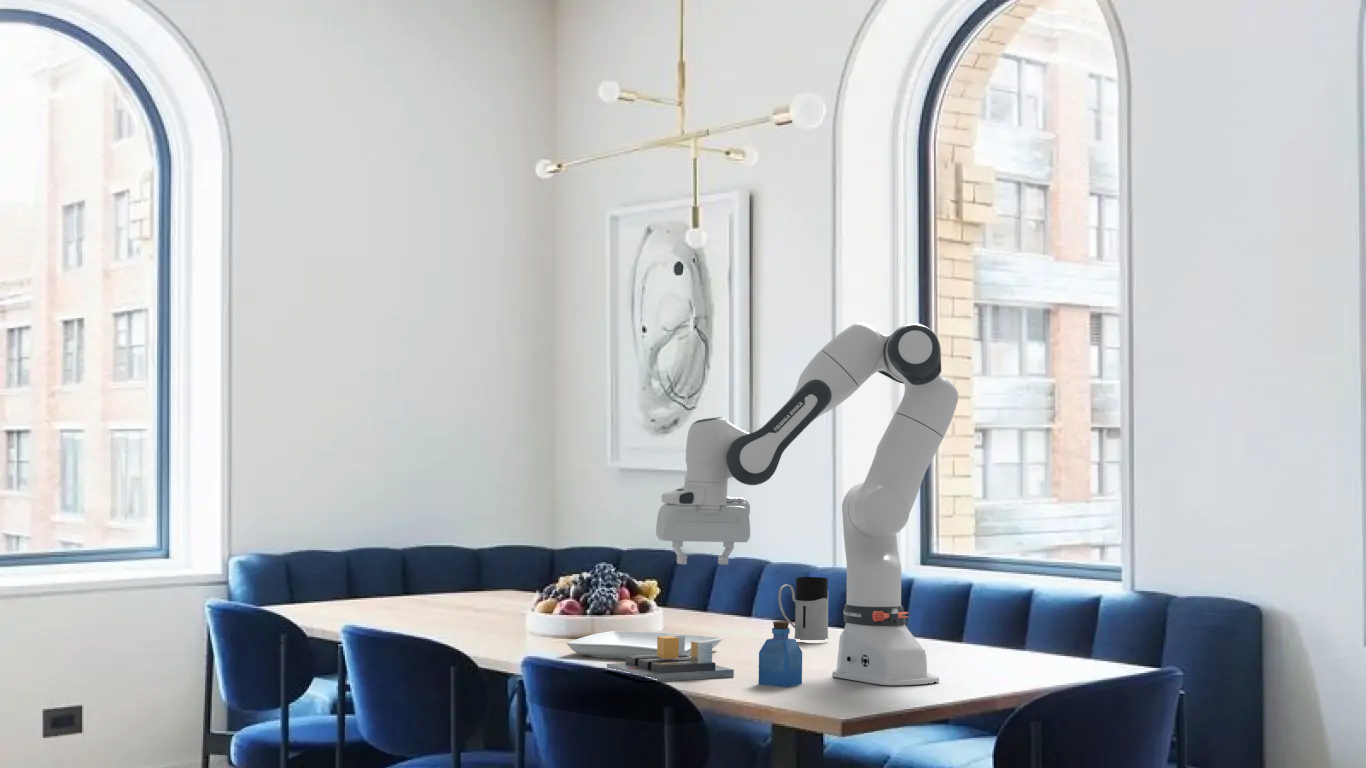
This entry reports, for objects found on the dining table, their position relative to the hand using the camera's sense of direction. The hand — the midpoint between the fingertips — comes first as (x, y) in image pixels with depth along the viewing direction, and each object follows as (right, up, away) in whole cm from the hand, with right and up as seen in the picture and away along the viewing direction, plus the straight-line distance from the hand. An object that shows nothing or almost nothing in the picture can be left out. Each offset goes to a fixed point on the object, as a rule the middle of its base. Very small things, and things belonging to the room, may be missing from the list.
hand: (702, 564), depth 341 cm
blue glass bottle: (+15, -22, -17) cm, 31 cm away
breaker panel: (-7, -22, -6) cm, 23 cm away
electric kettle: (+24, -25, +55) cm, 65 cm away
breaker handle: (-7, -18, -6) cm, 20 cm away
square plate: (-12, -23, +27) cm, 38 cm away
